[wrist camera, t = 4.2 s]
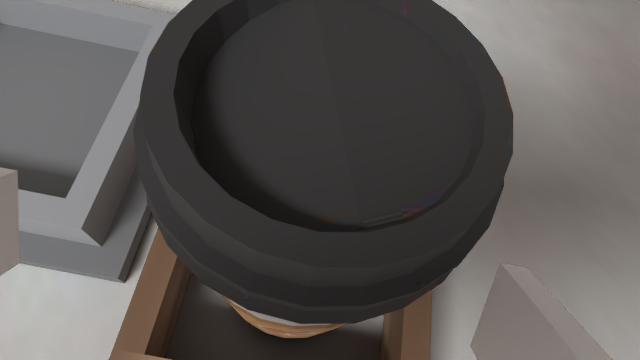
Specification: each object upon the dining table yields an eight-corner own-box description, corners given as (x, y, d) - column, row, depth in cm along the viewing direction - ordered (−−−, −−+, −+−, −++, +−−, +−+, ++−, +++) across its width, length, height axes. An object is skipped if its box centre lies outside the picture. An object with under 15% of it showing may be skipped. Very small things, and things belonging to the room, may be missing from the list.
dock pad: (215, 48, 28) (209, 5, 24) (124, 283, 20) (98, 263, 17) (-24, -2, 27) (-61, -53, 24) (-207, 219, 20) (-296, 187, 17)
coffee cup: (213, 376, 19) (86, 345, 6) (206, 208, 22) (120, -54, 9) (386, 347, 20) (616, 267, 7) (354, 194, 24) (465, -50, 11)
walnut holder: (414, 192, 24) (436, 163, 21) (399, 434, 19) (426, 443, 16) (208, 150, 24) (200, 115, 21) (128, 384, 18) (100, 383, 15)
